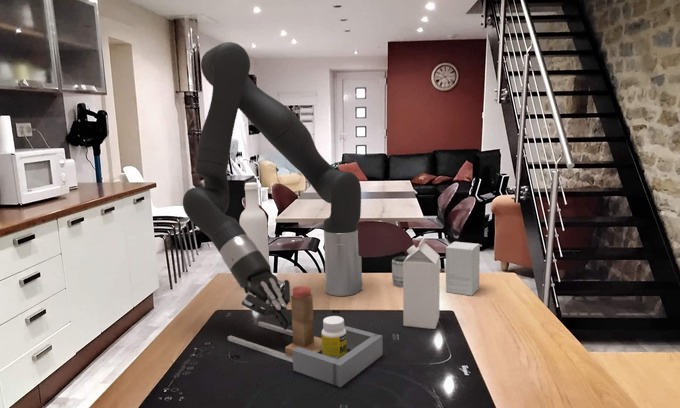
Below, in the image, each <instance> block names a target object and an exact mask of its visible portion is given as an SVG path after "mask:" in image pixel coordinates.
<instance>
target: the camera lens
mask: <svg viewBox="0 0 680 408" xmlns="http://www.w3.org/2000/svg"><path fill="white" fill-rule="evenodd" d="M407 256H408V255H398V256H395V257H393V258H392V260H391V276H392V284H393V286H395V287H399V288H403V261H404V260H405V259H406V257H407Z"/></svg>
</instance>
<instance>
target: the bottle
mask: <svg viewBox="0 0 680 408" xmlns="http://www.w3.org/2000/svg"><path fill="white" fill-rule="evenodd" d="M244 191H245V192H244V193H245V195H244V197H245V208H244V210H243V211H242V212H241V214H240V216H239V224H240V225H241V227H242V228H243V230H244V231H245V233H246V234H247V235H248V237H249V238H250V239H251V240H252V241H253V242H254V243H255V245H256V246H257V248H258V249H259V251H260V252H261V253H262V255H263V256H264V258H265V259H266V261H267V262H268V263H269V264H270V255H269V254H270V251H269V249H270V248H269V232H268V231H269V230H268V218H267V215H266V213H265V211H264V210H263V209H262V208H261V207H260V200H259V199H260V198H259V184H258V182H253V181H252V182H246V183H244Z"/></svg>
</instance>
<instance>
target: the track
mask: <svg viewBox="0 0 680 408" xmlns="http://www.w3.org/2000/svg"><path fill="white" fill-rule="evenodd" d="M257 326H258V327H261V328H264V329H268V330H270V331H274V332H277V333H281V334H284V335H288V336H291V337H293V330H291V329H289V328H288V329H286V330H284V328H282V327H281V326H278V325H274V324H271V323H268V322H264V321H258V322H257ZM227 341H229V342H231V343H234V344H237V345H240V346H243V347H247V348H249V349H251V350H254V351H258V352H260V353H264V354H266V355H269V356H272V357H275V358H278V359H281V360H284V361H286V362H290V363H292V364H293V356H290V355H288V354H286V353H284V352H282V351H278V350H275V349H272V348H269V347H266V346H263V345H260V344H258V343H254V342H251V341H250V340H249V341H247V340H245V339H243V338H239V337H236V336H233V335H229V336H227Z"/></svg>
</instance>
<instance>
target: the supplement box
mask: <svg viewBox="0 0 680 408" xmlns="http://www.w3.org/2000/svg"><path fill="white" fill-rule="evenodd" d="M480 251H481V250H480V243H473V242H462V241H461V242H460V241H453V242H451V243H450V244H449V245H447V246H446V247H445V292H446V293H452V294H458V295H464V296H471V297H472V296H473V295H475V293H476V292H477V291H478V290H479V289H480V264H481V263H480Z"/></svg>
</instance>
